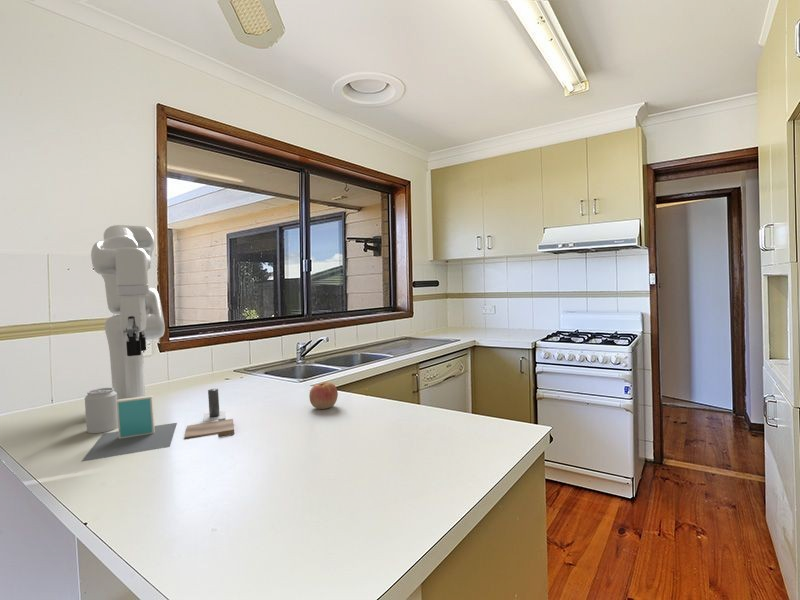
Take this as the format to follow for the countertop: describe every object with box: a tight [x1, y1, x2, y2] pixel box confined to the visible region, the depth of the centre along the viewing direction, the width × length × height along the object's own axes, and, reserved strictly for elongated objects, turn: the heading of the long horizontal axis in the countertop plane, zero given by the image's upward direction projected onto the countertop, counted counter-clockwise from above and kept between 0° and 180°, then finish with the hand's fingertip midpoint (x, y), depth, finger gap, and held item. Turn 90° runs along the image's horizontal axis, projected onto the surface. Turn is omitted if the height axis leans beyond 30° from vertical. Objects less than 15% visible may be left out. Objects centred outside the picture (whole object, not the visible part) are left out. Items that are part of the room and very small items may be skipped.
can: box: [84, 387, 118, 434], centre depth 119 cm, size 8×8×12 cm
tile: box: [117, 395, 156, 439], centre depth 113 cm, size 2×8×10 cm, turn 113°
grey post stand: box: [202, 388, 227, 423], centre depth 127 cm, size 8×6×9 cm
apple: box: [308, 381, 339, 410], centre depth 134 cm, size 9×9×8 cm
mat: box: [80, 422, 178, 462], centre depth 110 cm, size 20×18×1 cm
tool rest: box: [184, 418, 235, 440], centre depth 116 cm, size 10×12×1 cm
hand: (137, 352), depth 119 cm, fingers open, 8 cm apart
